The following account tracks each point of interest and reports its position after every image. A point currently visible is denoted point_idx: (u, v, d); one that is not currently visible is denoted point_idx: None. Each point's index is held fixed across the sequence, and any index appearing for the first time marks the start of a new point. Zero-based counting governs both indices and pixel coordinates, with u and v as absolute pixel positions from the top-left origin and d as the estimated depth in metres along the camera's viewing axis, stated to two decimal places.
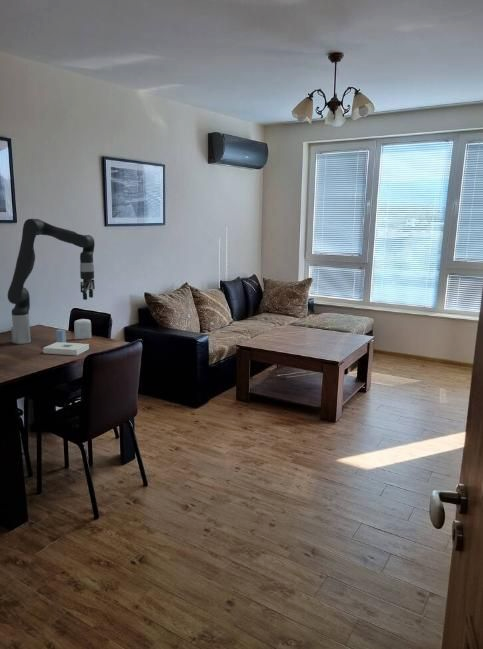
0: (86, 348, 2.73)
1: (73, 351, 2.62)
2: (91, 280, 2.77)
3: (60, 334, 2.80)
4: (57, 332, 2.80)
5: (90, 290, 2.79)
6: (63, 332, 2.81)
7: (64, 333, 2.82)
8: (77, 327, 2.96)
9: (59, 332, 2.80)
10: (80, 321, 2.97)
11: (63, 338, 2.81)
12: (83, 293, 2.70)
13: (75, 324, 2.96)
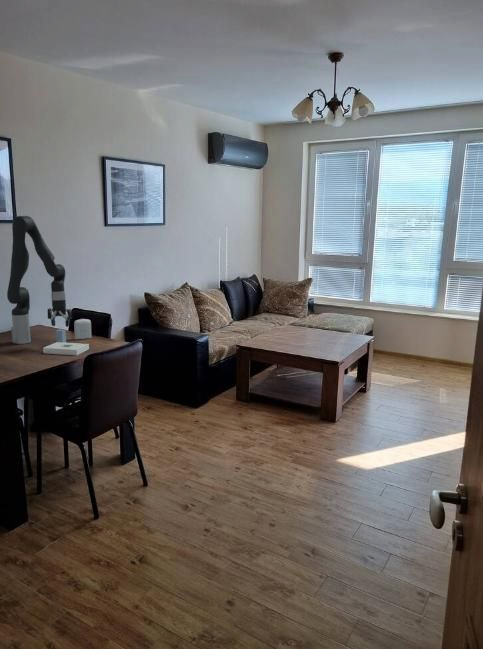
0: (86, 348, 2.73)
1: (73, 351, 2.62)
2: None
3: (60, 334, 2.80)
4: (57, 332, 2.80)
5: (53, 319, 2.80)
6: (63, 332, 2.81)
7: (64, 333, 2.82)
8: (77, 327, 2.96)
9: (59, 332, 2.80)
10: (80, 321, 2.97)
11: (63, 338, 2.81)
12: (68, 320, 2.79)
13: (75, 324, 2.96)
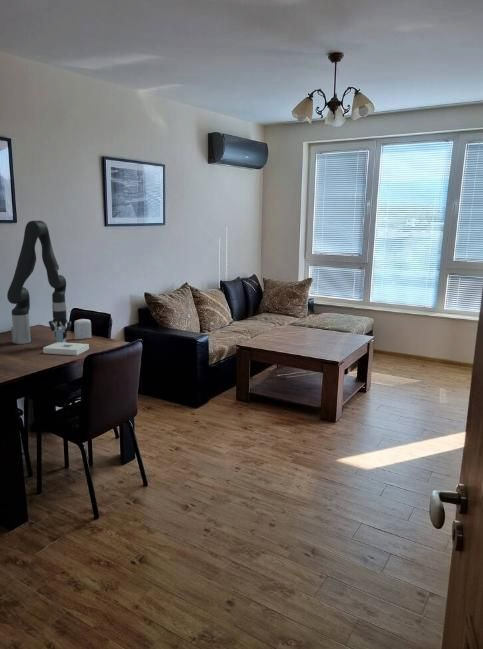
0: (86, 348, 2.73)
1: (73, 351, 2.62)
2: None
3: (60, 334, 2.80)
4: (57, 332, 2.80)
5: None
6: None
7: None
8: (77, 327, 2.96)
9: (59, 332, 2.80)
10: (80, 321, 2.97)
11: None
12: (65, 332, 2.81)
13: (75, 324, 2.96)
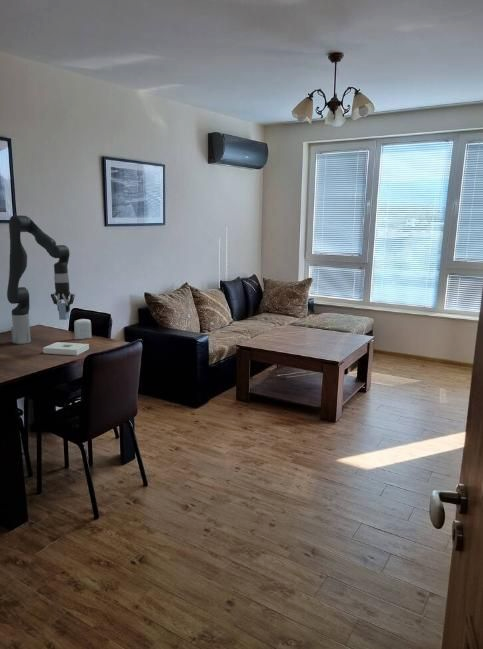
0: (86, 348, 2.73)
1: (73, 351, 2.62)
2: None
3: (63, 307, 2.67)
4: (60, 305, 2.67)
5: None
6: None
7: None
8: (77, 327, 2.96)
9: (62, 305, 2.66)
10: (80, 321, 2.97)
11: (66, 312, 2.68)
12: (68, 305, 2.68)
13: (75, 324, 2.96)
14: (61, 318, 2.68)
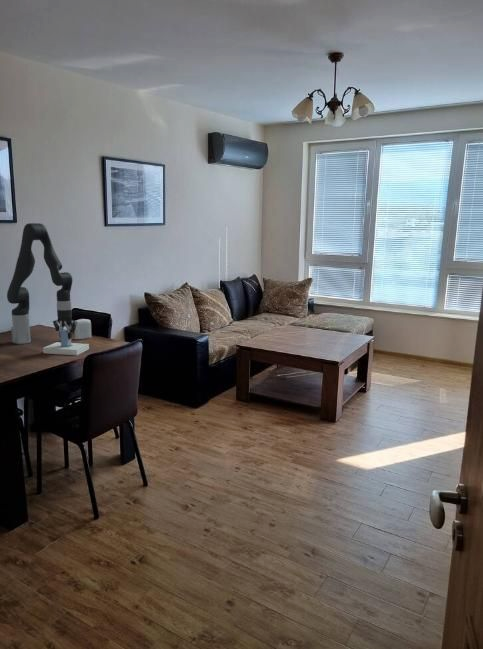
0: (86, 348, 2.73)
1: (73, 351, 2.62)
2: None
3: (65, 334, 2.66)
4: (62, 332, 2.66)
5: None
6: None
7: None
8: (77, 327, 2.96)
9: (64, 332, 2.66)
10: (80, 321, 2.97)
11: (68, 339, 2.67)
12: (70, 332, 2.67)
13: None
14: (62, 345, 2.67)
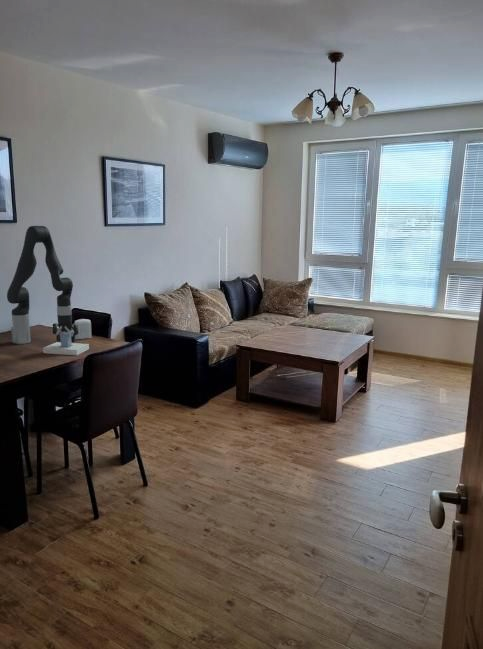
0: (86, 348, 2.73)
1: (73, 351, 2.62)
2: None
3: (65, 338, 2.66)
4: (62, 335, 2.66)
5: (58, 334, 2.69)
6: (68, 335, 2.67)
7: (69, 336, 2.69)
8: None
9: (64, 335, 2.66)
10: (80, 321, 2.97)
11: (68, 342, 2.68)
12: (74, 336, 2.67)
13: None
14: None
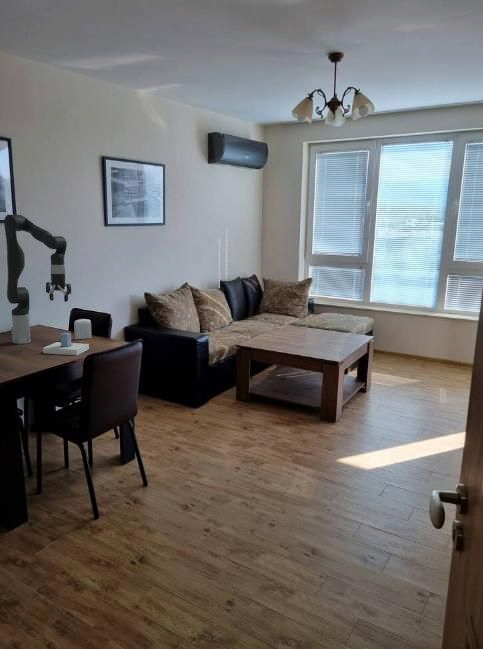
0: (86, 348, 2.73)
1: (73, 351, 2.62)
2: None
3: (65, 338, 2.66)
4: (62, 335, 2.66)
5: (51, 293, 2.70)
6: (68, 335, 2.67)
7: (69, 336, 2.69)
8: (77, 327, 2.96)
9: (64, 335, 2.66)
10: (80, 321, 2.97)
11: (68, 342, 2.68)
12: (67, 295, 2.68)
13: (75, 324, 2.96)
14: None
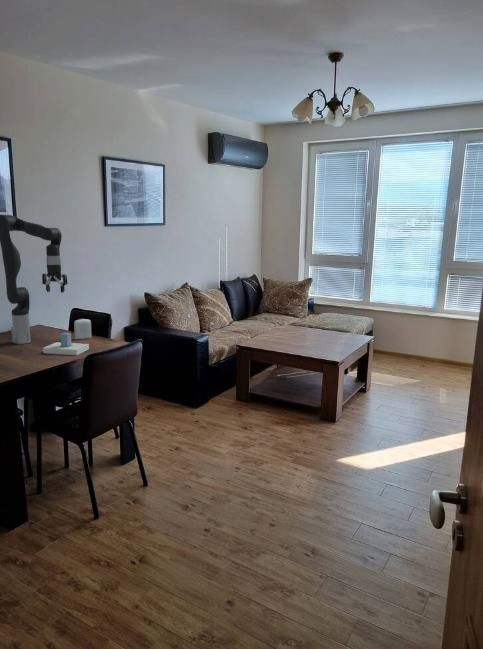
0: (86, 348, 2.73)
1: (73, 351, 2.62)
2: None
3: (65, 338, 2.66)
4: (62, 335, 2.66)
5: (48, 284, 2.74)
6: (68, 335, 2.67)
7: (69, 336, 2.69)
8: (77, 327, 2.96)
9: (64, 335, 2.66)
10: (80, 321, 2.97)
11: (68, 342, 2.68)
12: (63, 286, 2.72)
13: (75, 324, 2.96)
14: None
